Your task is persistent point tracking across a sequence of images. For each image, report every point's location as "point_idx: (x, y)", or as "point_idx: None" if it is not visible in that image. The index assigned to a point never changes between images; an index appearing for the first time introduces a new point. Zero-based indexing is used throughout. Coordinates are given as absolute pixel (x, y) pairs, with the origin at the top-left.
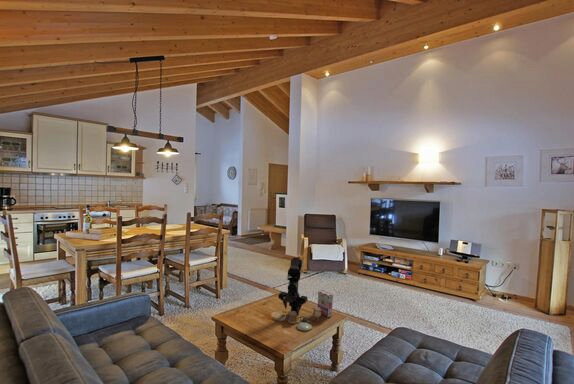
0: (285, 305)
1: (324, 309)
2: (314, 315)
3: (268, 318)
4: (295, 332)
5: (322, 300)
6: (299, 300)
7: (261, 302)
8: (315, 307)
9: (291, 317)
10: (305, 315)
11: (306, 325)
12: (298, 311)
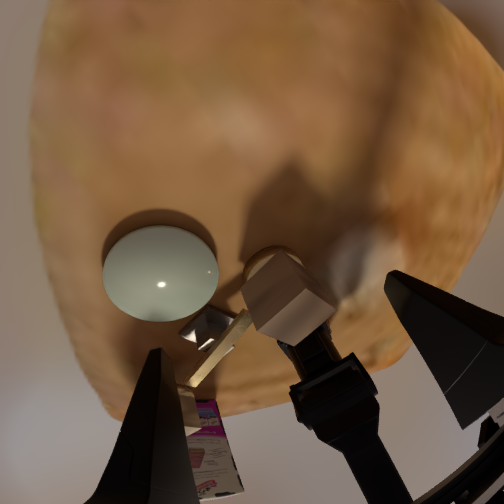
0: (434, 302)
1: None
2: None
3: (410, 209)
4: (162, 169)
5: (199, 464)
6: None
7: None
8: (190, 431)
9: (285, 281)
10: (219, 360)
11: (153, 297)
12: (159, 349)
